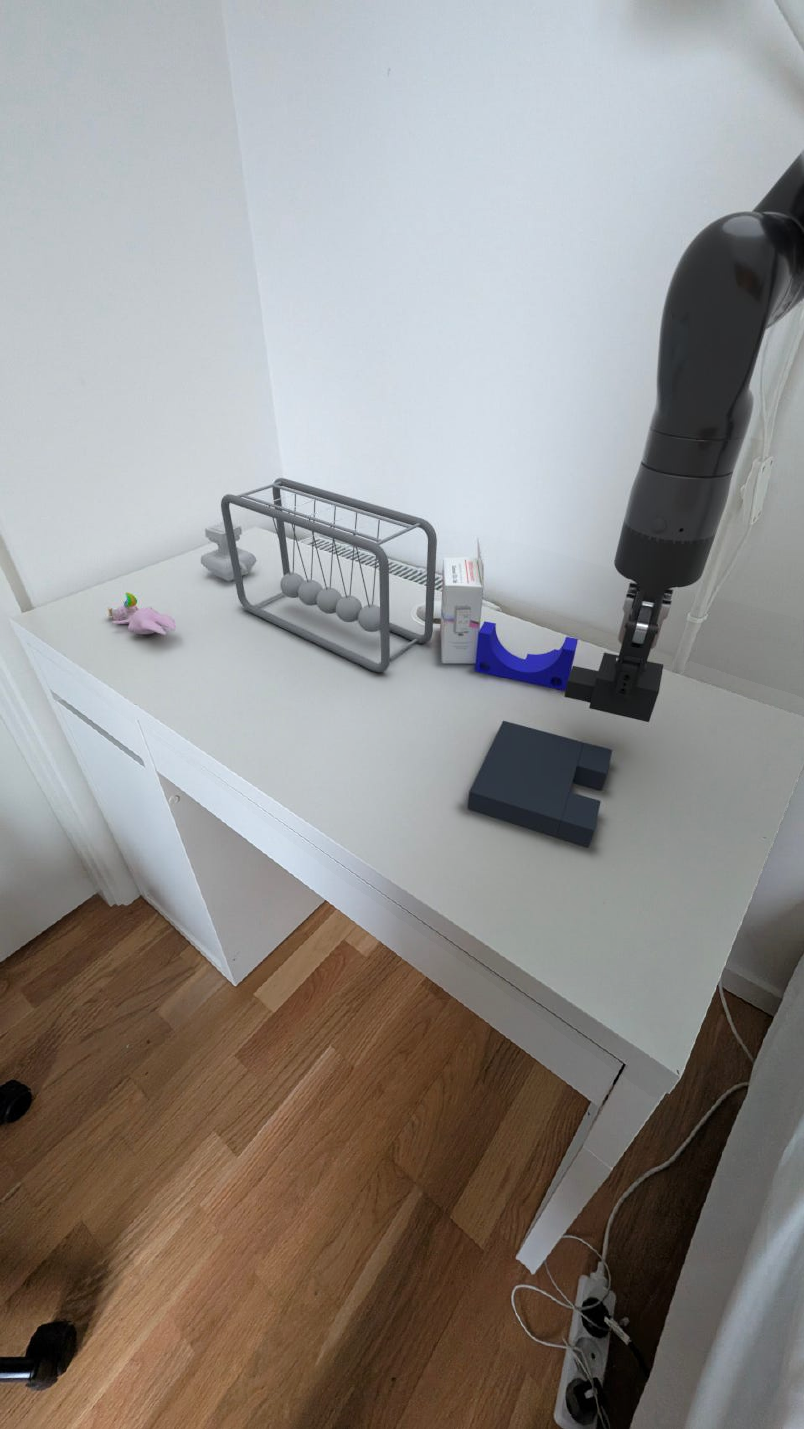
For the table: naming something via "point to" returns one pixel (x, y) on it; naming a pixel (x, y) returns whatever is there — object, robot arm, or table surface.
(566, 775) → the grey pad
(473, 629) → the ink cartridge box
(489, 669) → the blue half-round bracket
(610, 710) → the black usb stick
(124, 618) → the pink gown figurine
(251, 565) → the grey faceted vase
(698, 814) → the table surface
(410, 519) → the newton's cradle
